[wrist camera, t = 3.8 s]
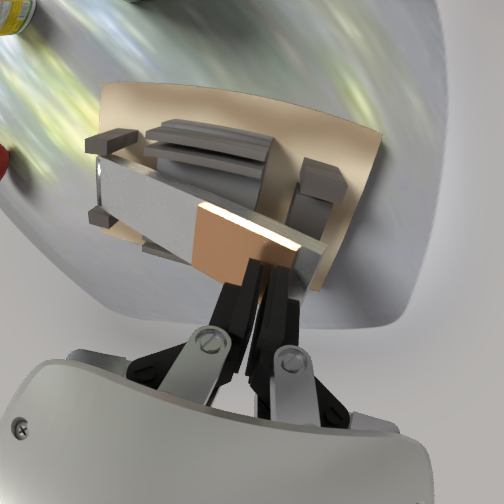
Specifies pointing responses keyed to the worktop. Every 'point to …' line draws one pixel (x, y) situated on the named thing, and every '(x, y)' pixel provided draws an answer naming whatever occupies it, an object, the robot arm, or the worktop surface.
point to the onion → (3, 161)
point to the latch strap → (204, 226)
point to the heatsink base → (240, 156)
